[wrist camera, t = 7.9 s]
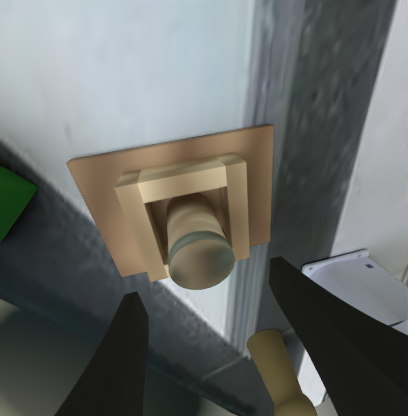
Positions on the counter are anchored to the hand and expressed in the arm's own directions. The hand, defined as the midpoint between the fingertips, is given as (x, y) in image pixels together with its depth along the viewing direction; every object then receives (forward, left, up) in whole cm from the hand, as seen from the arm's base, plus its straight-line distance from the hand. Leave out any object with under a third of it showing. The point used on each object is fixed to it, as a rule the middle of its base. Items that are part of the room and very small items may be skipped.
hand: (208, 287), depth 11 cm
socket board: (0, 0, -10) cm, 10 cm away
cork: (-8, +28, -10) cm, 31 cm away
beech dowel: (0, 0, -9) cm, 9 cm away
